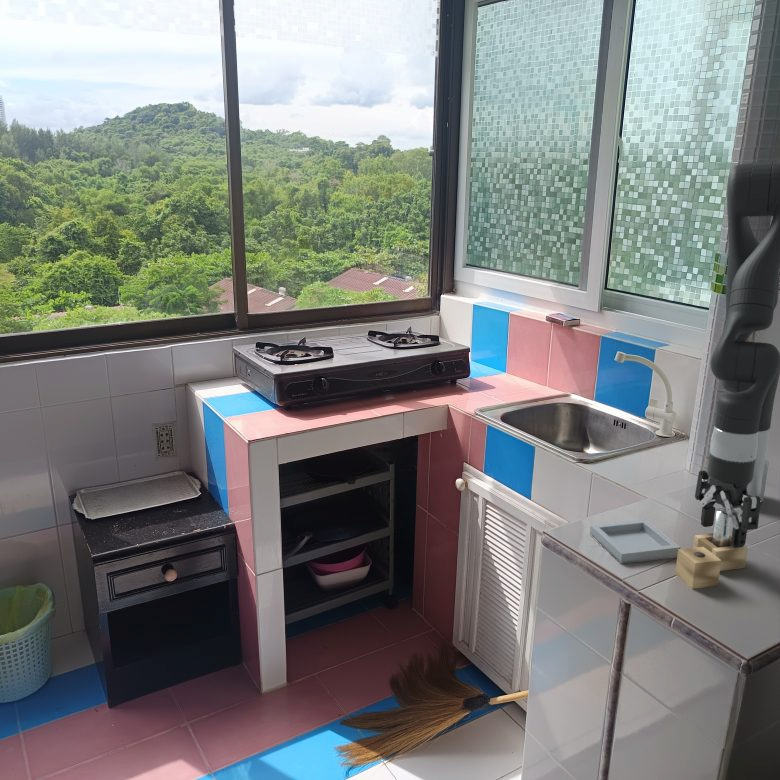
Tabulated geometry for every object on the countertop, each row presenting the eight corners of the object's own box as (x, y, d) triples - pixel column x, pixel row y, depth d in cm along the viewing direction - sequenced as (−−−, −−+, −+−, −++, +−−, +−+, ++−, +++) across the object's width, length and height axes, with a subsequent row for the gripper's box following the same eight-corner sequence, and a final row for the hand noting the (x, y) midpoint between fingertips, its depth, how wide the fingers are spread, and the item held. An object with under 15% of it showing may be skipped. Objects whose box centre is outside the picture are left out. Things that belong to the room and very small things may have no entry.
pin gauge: (719, 557, 138) (725, 507, 135) (728, 563, 135) (735, 513, 133) (706, 558, 137) (713, 509, 134) (715, 565, 135) (722, 515, 132)
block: (700, 571, 133) (703, 546, 131) (717, 586, 128) (721, 559, 127) (675, 574, 132) (678, 549, 130) (691, 589, 127) (695, 562, 126)
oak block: (722, 551, 140) (724, 531, 139) (744, 567, 134) (747, 547, 133) (692, 554, 138) (694, 535, 137) (713, 571, 132) (716, 551, 131)
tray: (644, 528, 149) (645, 519, 148) (679, 556, 138) (680, 547, 137) (589, 534, 146) (590, 525, 146) (621, 563, 135) (621, 554, 135)
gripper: (780, 465, 125) (766, 552, 129) (725, 437, 138) (714, 517, 142) (741, 468, 123) (728, 556, 127) (689, 440, 136) (680, 521, 141)
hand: (721, 535), depth 135 cm, fingers open, 8 cm apart
